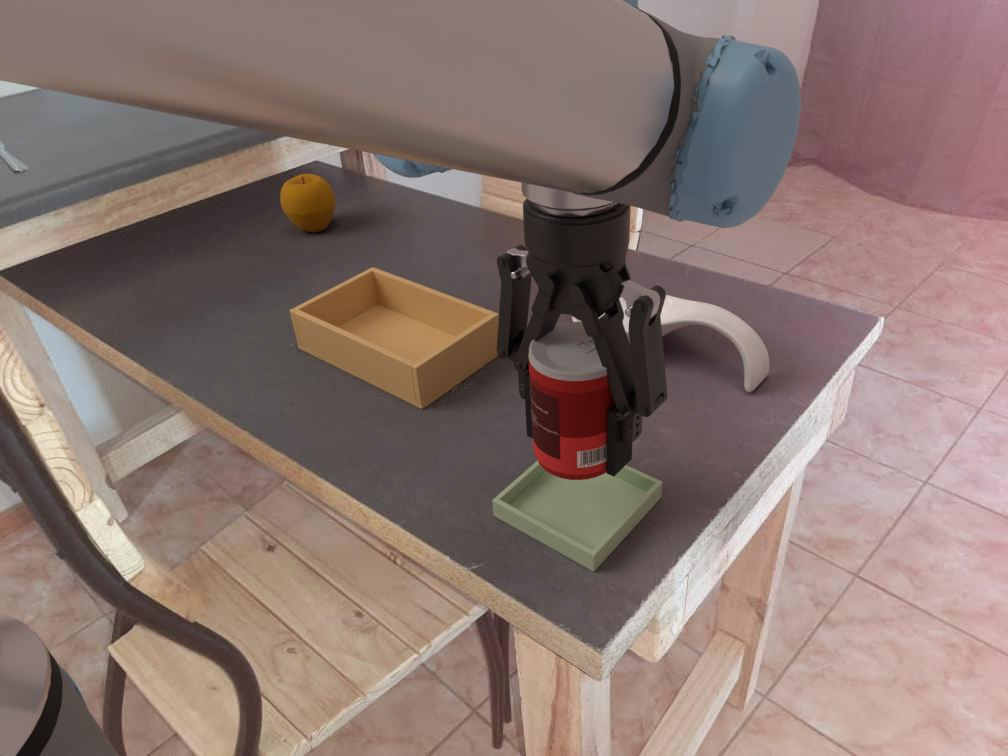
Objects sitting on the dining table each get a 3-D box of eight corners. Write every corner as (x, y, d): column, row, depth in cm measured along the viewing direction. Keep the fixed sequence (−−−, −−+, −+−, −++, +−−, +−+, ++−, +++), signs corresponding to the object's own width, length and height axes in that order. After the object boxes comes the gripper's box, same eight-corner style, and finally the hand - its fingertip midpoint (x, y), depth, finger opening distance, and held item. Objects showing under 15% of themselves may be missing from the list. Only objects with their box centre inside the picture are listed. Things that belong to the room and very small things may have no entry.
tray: (593, 572, 65) (594, 555, 63) (493, 516, 71) (491, 500, 69) (661, 497, 71) (662, 481, 70) (564, 452, 77) (564, 436, 76)
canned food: (638, 439, 68) (643, 333, 62) (597, 495, 63) (598, 385, 57) (561, 414, 72) (559, 311, 66) (516, 465, 66) (509, 358, 60)
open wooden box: (501, 353, 93) (499, 313, 90) (422, 409, 84) (416, 368, 81) (379, 303, 105) (372, 266, 101) (298, 348, 96) (288, 310, 93)
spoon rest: (553, 344, 94) (552, 292, 90) (606, 304, 101) (607, 253, 97) (738, 412, 81) (746, 355, 77) (783, 360, 88) (793, 305, 84)
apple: (288, 221, 130) (277, 170, 125) (340, 215, 131) (330, 163, 126) (286, 242, 123) (273, 189, 118) (340, 235, 124) (329, 182, 119)
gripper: (738, 207, 51) (707, 470, 64) (498, 154, 62) (513, 386, 75) (681, 251, 46) (660, 524, 59) (432, 184, 57) (461, 426, 70)
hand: (578, 447), depth 67 cm, fingers closed on canned food, 8 cm apart
